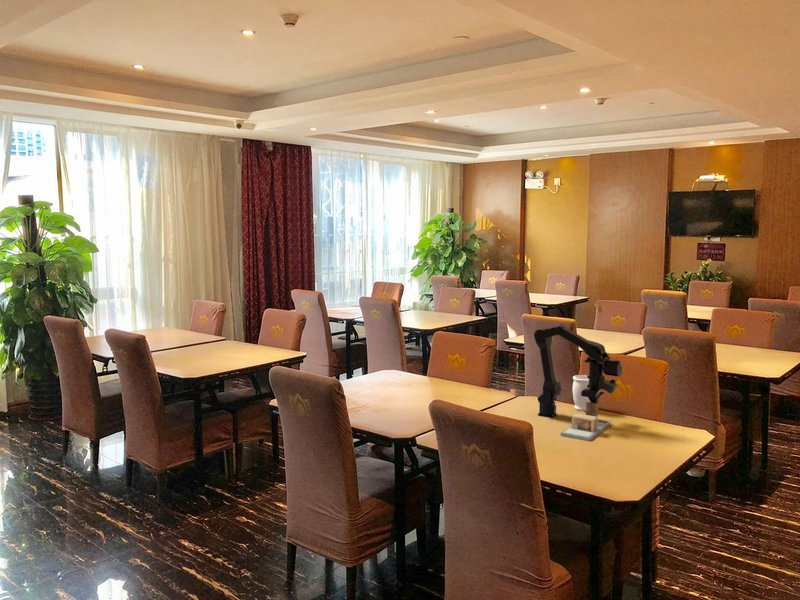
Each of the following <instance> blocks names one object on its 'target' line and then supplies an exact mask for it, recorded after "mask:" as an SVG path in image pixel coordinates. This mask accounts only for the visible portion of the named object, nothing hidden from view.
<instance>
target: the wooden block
mask: <svg viewBox="0 0 800 600" xmlns="http://www.w3.org/2000/svg"><path fill="white" fill-rule="evenodd" d="M598 414H599V402H598V403H591V402H586V411H585V415H590V416H596V417H598V418H599V416H598ZM577 428H580V429H585V430H589V429H590V428H591V421H587V420H581V419H578V426H577Z"/></svg>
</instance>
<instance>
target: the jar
mask: <svg viewBox="0 0 800 600" xmlns="http://www.w3.org/2000/svg"><path fill="white" fill-rule="evenodd" d="M588 375H589V374H588ZM588 375H587V374H576V375H574V376H572V380H573V382H572V396H573V402H574V404H575V405H574V408H573V409H575V410H577V411H581V412H586V402H590V400H589V398H588V397H585V396H581V391H582V390H584V389H585V388H587V385H588V384H589V378H587V376H588Z"/></svg>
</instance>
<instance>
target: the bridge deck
mask: <svg viewBox="0 0 800 600" xmlns="http://www.w3.org/2000/svg"><path fill="white" fill-rule="evenodd" d="M578 419H581V420H587V421H591V428H590V429H589V430H585V429H580V428H577V426H578ZM610 425H611V421H609V420H605V419H599V416H598V417H596V416H590V415H586V414H583V413H578V412H576V413H574V414H572V415H571V425H570V426H568V427H566V428H565V429H563V430H562V431H561V432H560V436H561V437H565V438H566V437H567V438H571V439H577V440H582V441H587V442H590V441H592V440H593V439H594V438H595V437H597V436H598V435H599V434H600V433H601V432H603V431H604V430H605V429H607V428H608V427H609V426H610Z"/></svg>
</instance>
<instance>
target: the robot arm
mask: <svg viewBox="0 0 800 600" xmlns="http://www.w3.org/2000/svg"><path fill="white" fill-rule="evenodd" d="M555 336H560V337H561V338H563V339H565V340H566V341H568V342H570V343H572V344H573V345H574V346H577V347H578V348H580V349H581V350H582V351H583V352H584V353H585V355H587V356H588V357H587V358H586V359H585V360H584V363H588V364H589V366H588V370H589V371H588V376H587V378H589V384H588V385H587V388H585V389H584V390H582V391H581V396H585V397H588V398H589V400H590V402H591V403H598V404H599V401H600V398H601V396H602V395H604V394H605V392H607V393H608V394H613V393H615V390H616V388H617V386H618V384H617V380H616V379H614V378H612V379H611V380H607V379H606V376H611V377H617V378H618V377H621V375H622V373H623V366H622V363H621V360H620V359H619V360H618V359H611V357H610V356H609V354H608V353H607V352H606V347H605V345H604V344H602V343H599V342H597V341H593V340H589V339H587V338H585V337H583V336H581V335H580V334H577V333H576V332H574V331H572V330H571V329H569V328H567V327H565V325H563V324H559V325H556V326H554V327H551V328H548V327H543V328H537V329H536V330H535V331H534V333H533V338H534V340H535V343H536V345H537V347H538V349H539V352H540V353H539V354H540V358H541V360H540V361H541V366H542V373H543V379H544V381H543V385H542V393H541V395H540V396H538V397H537V401H538V404H539V408H538V409H539V413H537V416H541V417H547V418H553V417H554V416H556V415H557V405H556V401H557V398H559V396H560V395H561V392H562V391H563V390H562V387H561V381H557V380H556V377H555V370H554V363H553V358H552V357H553V356H552V350H551V349H552V348H551V346H552V343H553V341H552V340H553V337H555ZM602 390H604V391H605V392H604V391H602Z"/></svg>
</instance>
